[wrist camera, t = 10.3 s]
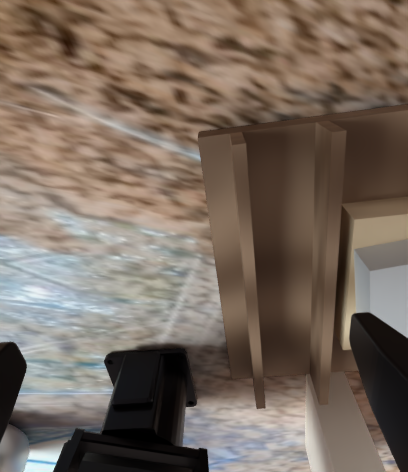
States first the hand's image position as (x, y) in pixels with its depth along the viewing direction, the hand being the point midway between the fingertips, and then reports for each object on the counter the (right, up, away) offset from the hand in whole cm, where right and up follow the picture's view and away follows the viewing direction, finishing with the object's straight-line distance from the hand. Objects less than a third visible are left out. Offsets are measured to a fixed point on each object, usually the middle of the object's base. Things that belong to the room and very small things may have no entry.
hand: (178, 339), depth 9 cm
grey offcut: (+11, -1, +10) cm, 15 cm away
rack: (+8, +1, +13) cm, 15 cm away
